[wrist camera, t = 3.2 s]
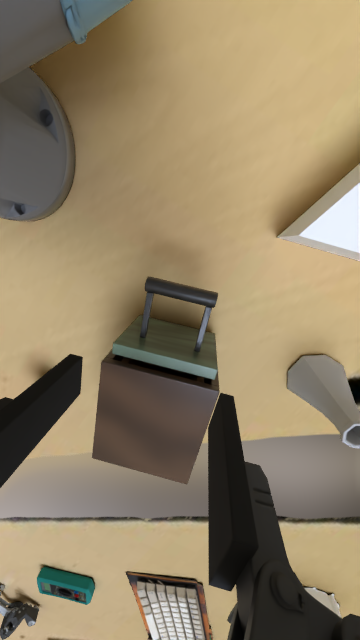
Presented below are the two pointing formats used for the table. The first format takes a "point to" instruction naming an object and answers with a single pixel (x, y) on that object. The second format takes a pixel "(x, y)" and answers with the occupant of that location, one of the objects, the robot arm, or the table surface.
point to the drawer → (171, 336)
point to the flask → (327, 393)
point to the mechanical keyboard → (171, 607)
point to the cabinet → (151, 418)
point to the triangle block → (332, 220)
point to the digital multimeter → (65, 585)
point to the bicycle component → (15, 615)
